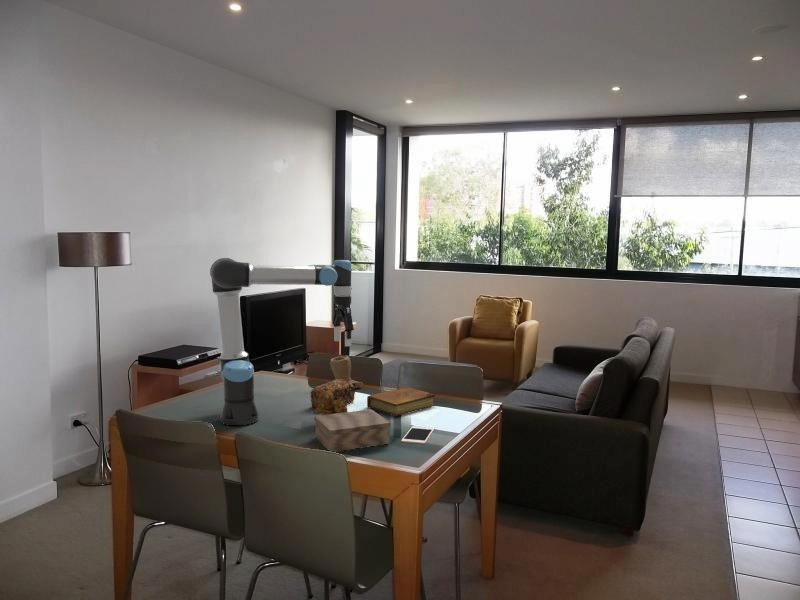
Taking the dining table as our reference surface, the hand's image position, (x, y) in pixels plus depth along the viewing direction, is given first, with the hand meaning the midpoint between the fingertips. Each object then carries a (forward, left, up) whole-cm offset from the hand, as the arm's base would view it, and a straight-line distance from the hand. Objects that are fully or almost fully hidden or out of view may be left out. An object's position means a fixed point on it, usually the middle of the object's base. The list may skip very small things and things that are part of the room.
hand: (342, 343), depth 281 cm
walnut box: (-14, -50, -27) cm, 59 cm away
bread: (-5, -1, -27) cm, 27 cm away
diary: (+21, -16, -27) cm, 38 cm away
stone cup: (+10, +26, -27) cm, 38 cm away
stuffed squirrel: (-14, -28, -27) cm, 41 cm away
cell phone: (+11, -54, -27) cm, 62 cm away
